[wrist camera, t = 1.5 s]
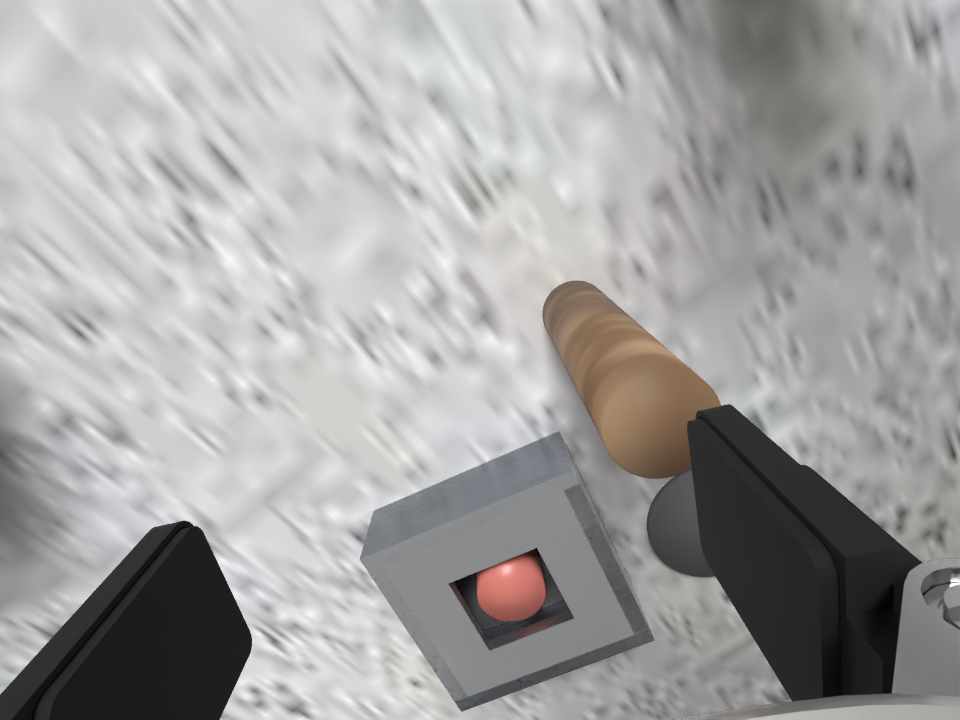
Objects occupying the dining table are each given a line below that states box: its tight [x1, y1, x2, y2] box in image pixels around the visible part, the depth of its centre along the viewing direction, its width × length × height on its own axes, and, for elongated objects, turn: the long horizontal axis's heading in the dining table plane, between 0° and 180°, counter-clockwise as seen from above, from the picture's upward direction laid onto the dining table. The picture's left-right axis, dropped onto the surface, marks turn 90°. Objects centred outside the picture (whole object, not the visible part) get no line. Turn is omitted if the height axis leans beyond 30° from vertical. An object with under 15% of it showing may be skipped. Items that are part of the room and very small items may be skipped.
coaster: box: [647, 468, 715, 577], centre depth 38 cm, size 9×9×1 cm
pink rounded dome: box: [477, 550, 546, 621], centre depth 36 cm, size 4×4×2 cm
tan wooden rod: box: [543, 281, 721, 479], centre depth 26 cm, size 4×4×16 cm
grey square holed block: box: [360, 432, 654, 712], centre depth 36 cm, size 14×14×5 cm
